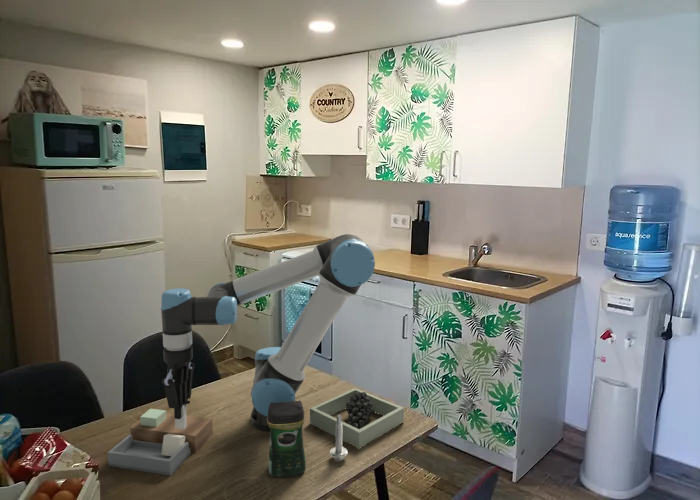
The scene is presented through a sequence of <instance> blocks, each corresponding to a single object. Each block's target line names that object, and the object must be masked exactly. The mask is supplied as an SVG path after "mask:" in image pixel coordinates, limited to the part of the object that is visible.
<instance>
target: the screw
mask: <svg viewBox="0 0 700 500" xmlns="http://www.w3.org/2000/svg"><path fill="white" fill-rule="evenodd" d="M336 419H337V422H336V423H337V424H336V437H335V447H332V448H331V449H330V450H329V454H330V456H332V457H333V459H334V461H335V462H339V461H340V462H342V461H344V460H343V459H344V458H345V457H346V456H347V455H348V454H349V452H348V449H347V448H345V447H344V446H343V440H342V423H341V421H343V419H342V415H341V414H340V413H338V414H337V415H336ZM341 460H342V461H341Z"/></svg>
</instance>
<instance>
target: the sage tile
mask: <svg viewBox="0 0 700 500" xmlns="http://www.w3.org/2000/svg"><path fill="white" fill-rule="evenodd" d="M166 413H167V410H164V409H157V408H149V409H148V410H147V411H145V413H143V414H142V415H140V417H139V418H140V419H141V425H146V426H153V427H157V426H158V425H159V424H161V423H162V422H163V421H164V420H165V419H166ZM140 419H139V420H140Z"/></svg>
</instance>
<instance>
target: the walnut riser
mask: <svg viewBox="0 0 700 500" xmlns="http://www.w3.org/2000/svg"><path fill="white" fill-rule="evenodd" d="M186 416H187V427H186V428H185V429H178V428H175V416H174V413H170V412H166V419H165V420H164V421H163V422H162V423H161V424H159V425H158V426H157V427H153V426H146V425H141V419H139V420H138V421H137V422H135V423H134V424H133V425H132V426H130V435H132V440H138V441H145V442H153V443H160V444H163V438H164V435H167V434H175V435H182V436H185V442H189V447H190V448H191V453H197V452H199V450H200V449H201V448H202V447H203V446H204V445H205V443H207V442H208V441H209V440H210V438H212V436H213V435H214V429H213V418H212V417H204V416H203V417H202V416H195V415H194V416H193V415H187V414H186Z"/></svg>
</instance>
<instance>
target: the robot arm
mask: <svg viewBox="0 0 700 500" xmlns="http://www.w3.org/2000/svg"><path fill="white" fill-rule="evenodd" d="M375 266H376V262H375V255H374V252H373V251H372V249H371V248H370V246H369V245H368V244H366V242H365V241H363V239H362V238H360V237H359V236H358V235H354V234H347V233H345V234H341V235H339V236H336V237H334V238H331V239H329V240H326V241H325V242H322V243H319V244H317V245H315V246H314V248H313V249H312V250H311V251H308V252H305V253H303V254H300V255H297V256H294V257H292V258H289V259H287V260H284V261H282V262H278V263H276V264H274V265H271V266H267V267H265V268H263V269H260V270H257V271H254V272H251V273H249V274H247V275H244V276H241V277H239V278H236V279H232V280H231V281H227V282H219V283H216V284H215V285H213V286H212V287H211V288H210V290H209V292H208V294H207V295H206V296H201V297H200V296H199V297H198V296H192V293H191V291H190V289H188V288H181V287H180V288H178V287H177V288H170V289H167V290H164V291H163V292H162V294H161V301H160V303H161V305H160V306H161V307H160V311H161V326H162V327H161V329H162V330H161V331H162V346H163V349H162V355H163V362H164V363H165V364H167V370H166V374H167V375H166V378H165V377H163V378H161V383H162V385H163V387H164V392H165V396H166V401H167V406H168V408H169V409H173V411H174V413H173V414H174V416H175V428H178V429H185V428H186V427H187V416H188V415H187V405H190V404H191V401H190V400H189V399H191V397H192V388H193V387H192V386H193V378H194V376H193V375H194V369H195V366H196V364H195V363H194V362H191V360H193V357H194V354H193V352H194V351H193V350H194V349H193V331H192V330H193V329H192V328H193V326H226V325H233V324H235V323H236V322H237V319H238V307H239V306H241V305H243V304H246V303H248V302H252V301H255V300H257V299H260V298H263V297H265V296H267V295H270V294H274V293H276V292H278V291H281V290H283V289H286V288H289V287H291V286H294V285H297V284H300V283H302V282H305V281H307V280H310V279H311V280H312V278H317V277H319V283H318V285H317V286H316V288H315V289H314V291H313V293H312V294H311V296H310V298H309V300H308V301H307V303H306V305H305V306H304V307H303V310H301V311H302V312H301V313H300V315H299V316H298V318H297V320H296V322H295V323H294V325H293V327H292V328H291V330H290V332H289V333H288V335H287V337H286V338H285V340H284V342H283V344H281V346H273V347H264V348H261V349H258V350H257V351H256V352H255V355H254V364H255V366H254V367H255V369H254V377H253V383H252V388H251V392H250V397H251V402H252V405H253V406H252V408H251V409H252V410H251V413H250V425H251V426H252V428H254V429H255V430H257V431H259V432H264V433H270V428H269V426H268V423H267V416H268V409H269V405H270V403H277V402H290V401H297V400H296V394H297V393H298V391H299V389H300V388H301V386H302V384H303V382H304V380H305V378H306V375H305V368H306V367H307V365H308V363H309V362H310V360H311V358H312V356H313V354H314V353H315V352H316V350H317V348H318V346H319V345H320V343H321V342H322V340H323V338H324V337H325V335H326V333H327V331H328V330H329V328H330V327H331V325H332V323H333V322H334V320H335V318H336V317H337V315H338V313H339V312H340V309H341V308H342V306H343V305H344V303H345V302H346V300H347V298H350V297H353V296H355V295H356V294H357V292H358V291H359V289H360V287H361V286H362V285H364V284H365V283H366V282H368V281H369V280H370V278H372V275H373V273H374V271H375ZM186 415H187V416H186Z"/></svg>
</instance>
